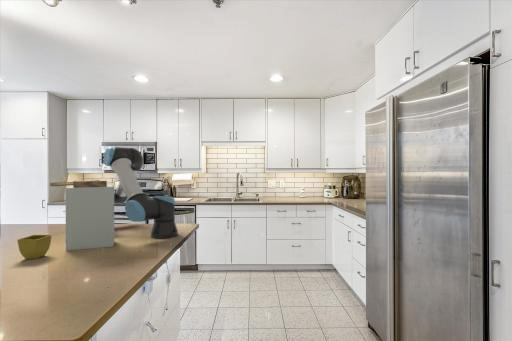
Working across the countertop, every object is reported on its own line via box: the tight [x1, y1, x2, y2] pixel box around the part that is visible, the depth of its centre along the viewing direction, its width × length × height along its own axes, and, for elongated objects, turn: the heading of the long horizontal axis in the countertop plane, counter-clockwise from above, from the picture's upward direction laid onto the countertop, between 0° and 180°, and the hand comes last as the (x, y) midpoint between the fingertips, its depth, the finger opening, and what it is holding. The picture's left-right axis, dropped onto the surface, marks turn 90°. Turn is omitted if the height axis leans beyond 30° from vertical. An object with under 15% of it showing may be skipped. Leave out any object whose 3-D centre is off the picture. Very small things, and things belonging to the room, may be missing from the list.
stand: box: [65, 185, 115, 252], centre depth 143 cm, size 20×10×30 cm, turn 112°
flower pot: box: [16, 234, 52, 260], centre depth 125 cm, size 9×9×9 cm
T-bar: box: [72, 179, 108, 188], centre depth 150 cm, size 14×21×3 cm, turn 22°
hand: (97, 192), depth 164 cm, fingers open, 13 cm apart
